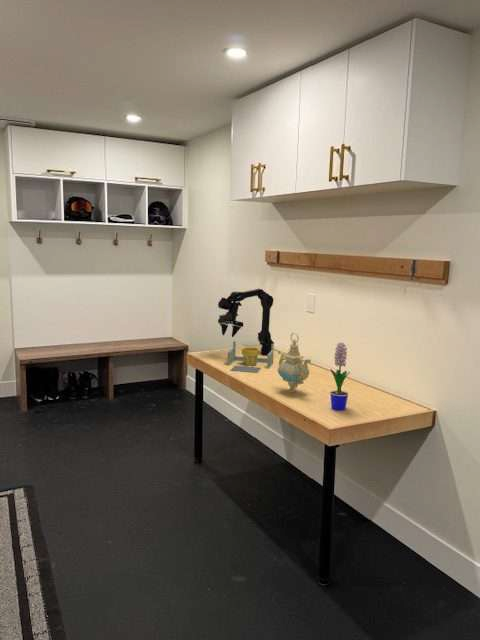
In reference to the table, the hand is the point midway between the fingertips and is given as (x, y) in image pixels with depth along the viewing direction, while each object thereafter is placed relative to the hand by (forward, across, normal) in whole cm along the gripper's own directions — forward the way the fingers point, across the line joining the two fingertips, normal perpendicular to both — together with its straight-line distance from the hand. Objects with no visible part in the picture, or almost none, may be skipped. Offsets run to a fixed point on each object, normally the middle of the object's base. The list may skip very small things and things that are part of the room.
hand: (227, 336), depth 308 cm
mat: (+17, +23, -1) cm, 29 cm away
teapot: (+22, +71, -11) cm, 75 cm away
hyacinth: (+23, +101, -13) cm, 105 cm away
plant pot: (+14, +16, +9) cm, 23 cm away
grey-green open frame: (+14, +15, +10) cm, 23 cm away
